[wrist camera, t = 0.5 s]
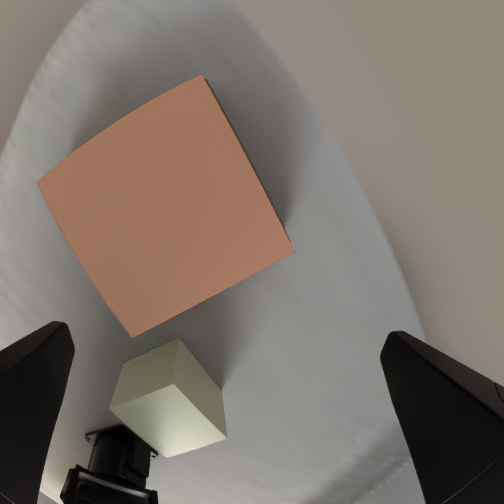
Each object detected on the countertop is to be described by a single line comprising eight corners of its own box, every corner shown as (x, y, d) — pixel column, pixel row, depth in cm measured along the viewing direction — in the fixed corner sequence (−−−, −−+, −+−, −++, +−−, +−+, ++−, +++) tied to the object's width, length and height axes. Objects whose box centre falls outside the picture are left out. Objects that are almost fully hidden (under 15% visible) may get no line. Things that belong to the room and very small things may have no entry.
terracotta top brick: (140, 315, 19) (132, 338, 17) (58, 179, 16) (36, 182, 13) (281, 239, 19) (294, 251, 17) (201, 88, 16) (201, 74, 13)
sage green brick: (169, 411, 25) (165, 457, 19) (123, 362, 23) (108, 408, 17) (221, 390, 25) (227, 438, 19) (178, 336, 23) (173, 383, 17)
